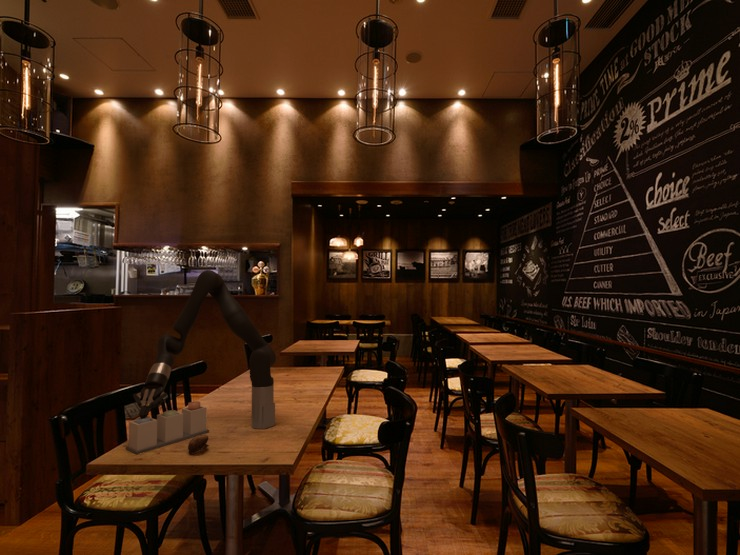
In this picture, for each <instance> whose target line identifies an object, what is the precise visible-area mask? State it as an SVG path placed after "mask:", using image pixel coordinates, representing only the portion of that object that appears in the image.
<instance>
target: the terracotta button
mask: <svg viewBox="0 0 740 555" xmlns="http://www.w3.org/2000/svg"><path fill="white" fill-rule="evenodd" d="M200 406H201V401H199V400H195V401H189V402H188V403H187V408H188V410H190V411H193V410H197V409H200Z"/></svg>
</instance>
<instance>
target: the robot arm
mask: <svg viewBox="0 0 740 555" xmlns="http://www.w3.org/2000/svg"><path fill="white" fill-rule="evenodd" d="M208 295H210V296H211V297H212V299H213V300H214V301H215V302H216V304H217V306H218V308H219V311H220V314H221V317H222V318H223V321H224V322H225V324H226V325H227V326H228V328H229V329H230V331H231V332H232V333H233V334H234V335H235V336H236V337H238V338H239V339H241V340H242V341H243V342H244V343H245V344H246V345H248V348H249V349H250V351H251V354H250V356H249V362H248V363H249V379H250V382H251V428H253V429H256V430H257V429H258V430H265V429H268V428H272V427H273V426H275V425H276V402H274V397H275V396H274V394H275V393H274V390H275V389H274V387H275V386H274V385H275V384H274V383H275V382H274V381H275V380H274V377H273V376H272V375H271V372H272V371H271V367H273V366H274V365H275V363H276V361H277V355H276V352H275V351H274V349H273V348H272V347H271V345H270V344H269V343H268V342H267V341H266V340H265V339H264V337H263V336H262V335H261V333H260V332H259V331H258V328H256V326H255V325H254V323H253V322H252V320H251V318H250V317H249V316H248V314H247V313H246V312H245V310H244V308H243V307H242V306H241V304H240V303H239V302H238V301H237V299H236V298H234V296H233V295H232V293H231V292H230V290H229V288H228V286H227V284H226V282H225V281H224V280H223V278H222V276H221V274H219V273H217V272H216V271H213V270H211V269H210V270H209V269H206V270H203V271H202V272H200V273H199V275H198V277H197V279H196V281H195V283H194V286H193V289H192V290H191V293H190V295H189V297H188V300H187V301H186V303H185V305H184V307H183V309H182V310H181V312H180V313H179V315H178V317H177V319H176V320H175V321H174V323H173V326H172V330H174V331H175V332H176V333H178V334H179V338H178V337H176V336H173V335H172V334H170V333H164V334H163V335H161V336H160V337H159V338H158V340H157V345H156V357H155V360H154V362H153V364H152V366H151V368H150V370H149V372H148V375H147V377H146V380H145V382H144V384H143V388H142V389H141V390H140V392H138V393H133V394H132V397H133V399H134V402H135V403H136V404H137V406H138V408H139V413H138V417H139V418H146V417H147V416H148V417H149V414H150V411H151V409H156V408H157V407H159V406H160V405H161V404H163V403H164V402H165V401H166V400H167V399H168V398H169V395H168V394H167V392H165V388H166V386H167V383H168V381H169V379H170V375H171V371H172V368H173V366H174V362H175V357H174V356H178V355H180V354H182V353H183V351H184V348H185V345H186V341H187V338H188V336H189V333H190V331H191V329H192V328H193V326H194V324H195V323H196V321H197V319H198V317H199V313H200V310H201V308H202V305H203V303H204V301H205V299H206V298H207V296H208ZM173 355H174V356H173ZM141 399H142V401H141Z"/></svg>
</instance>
